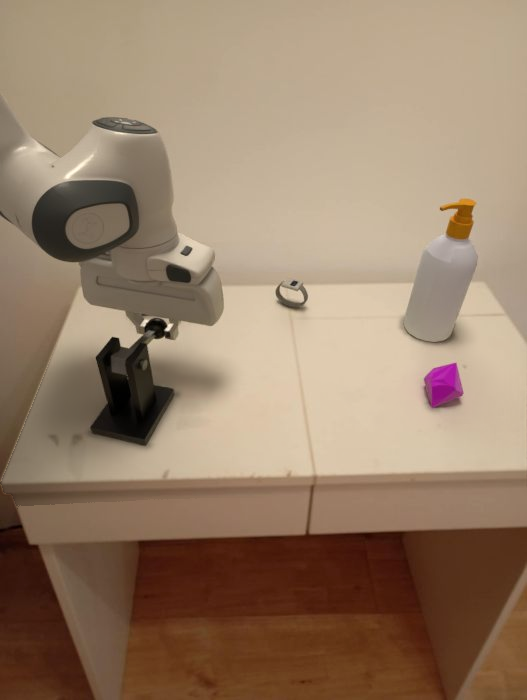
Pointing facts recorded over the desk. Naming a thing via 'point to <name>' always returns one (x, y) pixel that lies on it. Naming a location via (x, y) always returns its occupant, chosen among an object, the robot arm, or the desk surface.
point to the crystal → (443, 384)
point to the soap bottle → (443, 278)
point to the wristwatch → (293, 286)
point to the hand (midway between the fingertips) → (158, 334)
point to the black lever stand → (130, 396)
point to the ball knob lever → (120, 357)
